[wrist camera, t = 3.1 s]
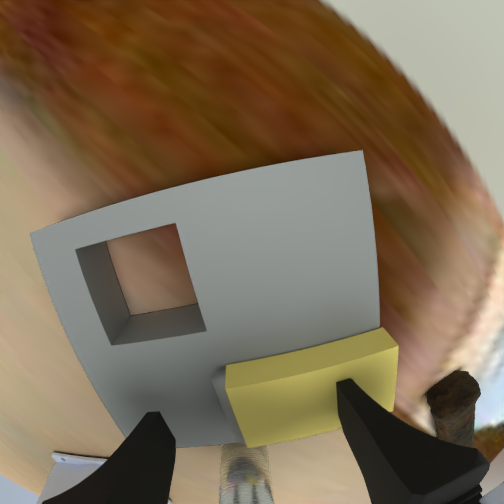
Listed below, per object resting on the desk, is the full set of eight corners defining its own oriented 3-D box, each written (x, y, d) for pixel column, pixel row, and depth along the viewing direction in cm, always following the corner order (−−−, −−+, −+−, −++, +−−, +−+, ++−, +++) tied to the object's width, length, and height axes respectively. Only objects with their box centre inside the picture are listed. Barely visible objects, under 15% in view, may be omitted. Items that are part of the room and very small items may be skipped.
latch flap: (234, 426, 13) (235, 449, 12) (212, 367, 12) (209, 390, 11) (381, 391, 13) (392, 410, 12) (382, 327, 12) (398, 345, 11)
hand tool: (418, 389, 18) (447, 430, 13) (460, 361, 18) (493, 396, 13) (428, 477, 23) (442, 504, 18) (456, 459, 22) (472, 485, 18)
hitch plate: (143, 415, 17) (133, 448, 14) (62, 221, 13) (29, 233, 10) (360, 377, 17) (377, 409, 14) (337, 153, 13) (362, 150, 10)
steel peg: (227, 450, 18) (227, 546, 10) (215, 425, 17) (210, 530, 9) (269, 444, 18) (282, 541, 10) (261, 418, 17) (273, 526, 9)
